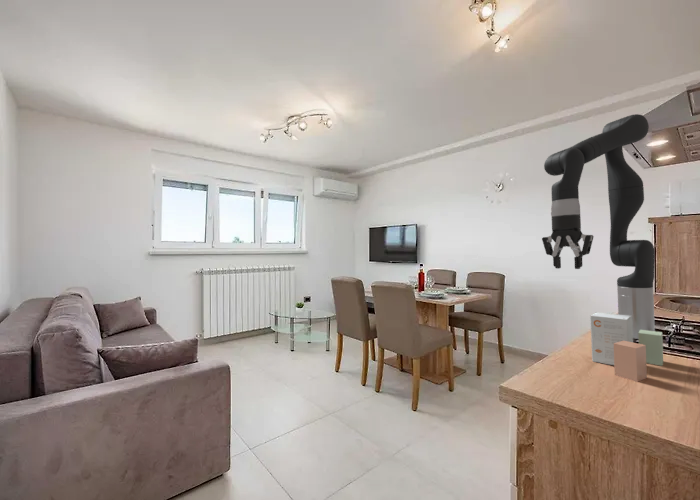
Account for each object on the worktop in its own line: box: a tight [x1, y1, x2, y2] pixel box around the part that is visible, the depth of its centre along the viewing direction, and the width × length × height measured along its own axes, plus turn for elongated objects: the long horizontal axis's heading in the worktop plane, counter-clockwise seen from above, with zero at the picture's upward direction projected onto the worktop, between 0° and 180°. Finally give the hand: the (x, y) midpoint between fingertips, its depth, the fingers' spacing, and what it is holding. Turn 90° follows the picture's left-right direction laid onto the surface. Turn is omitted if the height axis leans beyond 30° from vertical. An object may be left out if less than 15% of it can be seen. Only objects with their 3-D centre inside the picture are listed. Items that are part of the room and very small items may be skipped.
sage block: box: [637, 330, 664, 367], centre depth 86 cm, size 4×4×8 cm
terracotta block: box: [613, 341, 648, 383], centre depth 78 cm, size 4×4×8 cm
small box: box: [589, 311, 634, 366], centre depth 87 cm, size 8×6×13 cm
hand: (567, 268), depth 99 cm, fingers open, 5 cm apart
